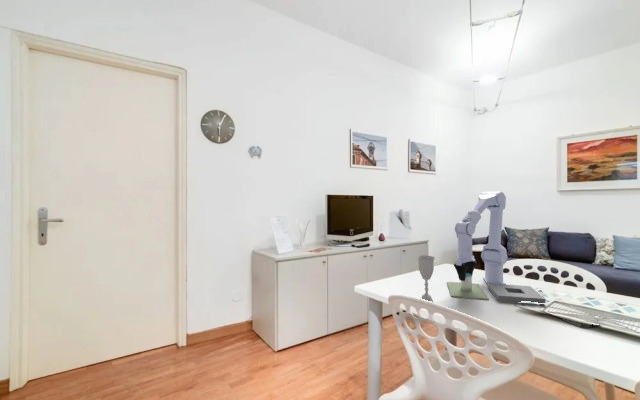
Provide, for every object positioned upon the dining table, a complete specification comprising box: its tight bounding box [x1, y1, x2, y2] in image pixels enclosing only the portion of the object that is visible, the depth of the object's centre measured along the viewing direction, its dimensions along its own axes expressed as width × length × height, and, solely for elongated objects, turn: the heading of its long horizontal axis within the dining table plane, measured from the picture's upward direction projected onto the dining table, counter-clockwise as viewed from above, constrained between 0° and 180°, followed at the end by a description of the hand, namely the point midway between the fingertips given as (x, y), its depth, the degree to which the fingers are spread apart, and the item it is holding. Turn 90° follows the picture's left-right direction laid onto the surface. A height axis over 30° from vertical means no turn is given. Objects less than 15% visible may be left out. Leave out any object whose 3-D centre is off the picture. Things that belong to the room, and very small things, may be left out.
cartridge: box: [460, 273, 473, 291], centre depth 129 cm, size 4×4×7 cm
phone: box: [561, 319, 593, 329], centre depth 100 cm, size 8×1×15 cm
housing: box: [488, 283, 546, 304], centre depth 121 cm, size 16×16×2 cm
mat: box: [446, 281, 490, 301], centre depth 129 cm, size 20×14×1 cm
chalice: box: [417, 255, 435, 303], centre depth 118 cm, size 7×7×18 cm
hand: (465, 278), depth 129 cm, fingers open, 7 cm apart
